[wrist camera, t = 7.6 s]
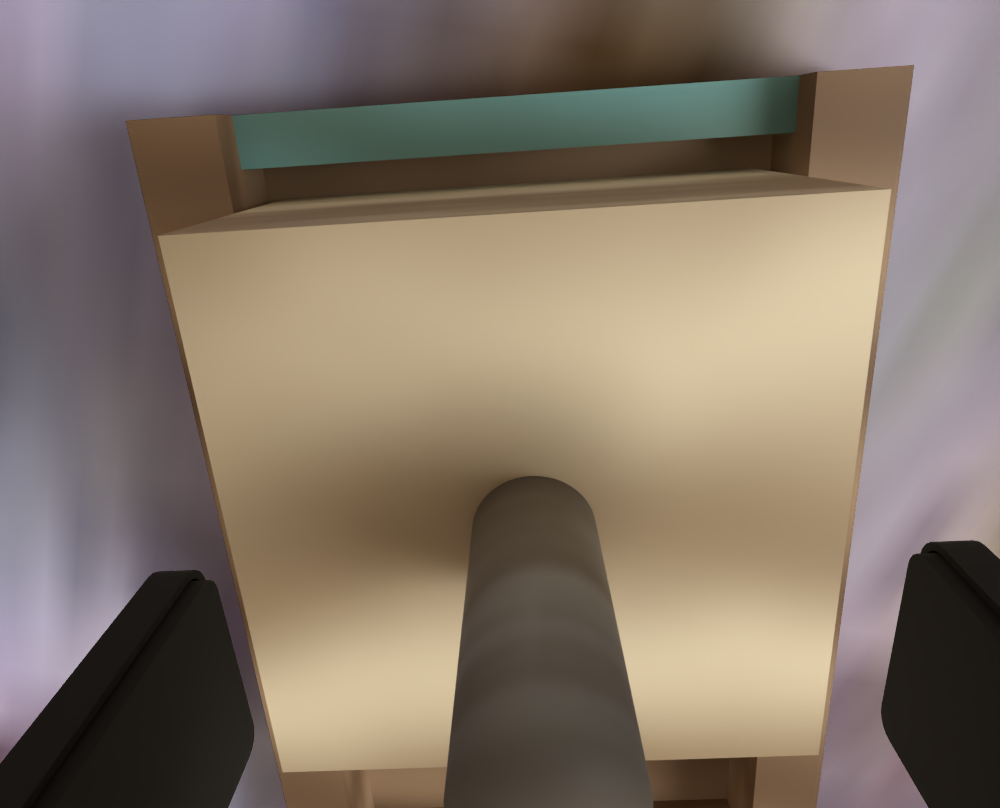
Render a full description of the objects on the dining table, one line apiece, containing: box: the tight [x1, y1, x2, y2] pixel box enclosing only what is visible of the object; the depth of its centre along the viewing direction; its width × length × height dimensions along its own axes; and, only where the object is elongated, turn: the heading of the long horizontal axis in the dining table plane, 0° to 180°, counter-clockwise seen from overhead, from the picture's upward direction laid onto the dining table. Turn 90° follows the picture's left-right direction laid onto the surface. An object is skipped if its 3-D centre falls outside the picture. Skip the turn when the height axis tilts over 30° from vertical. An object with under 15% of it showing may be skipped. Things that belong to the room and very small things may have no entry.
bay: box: [126, 65, 914, 808], centre depth 21 cm, size 26×17×3 cm, turn 4°
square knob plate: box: [158, 168, 891, 808], centre depth 14 cm, size 12×12×13 cm
